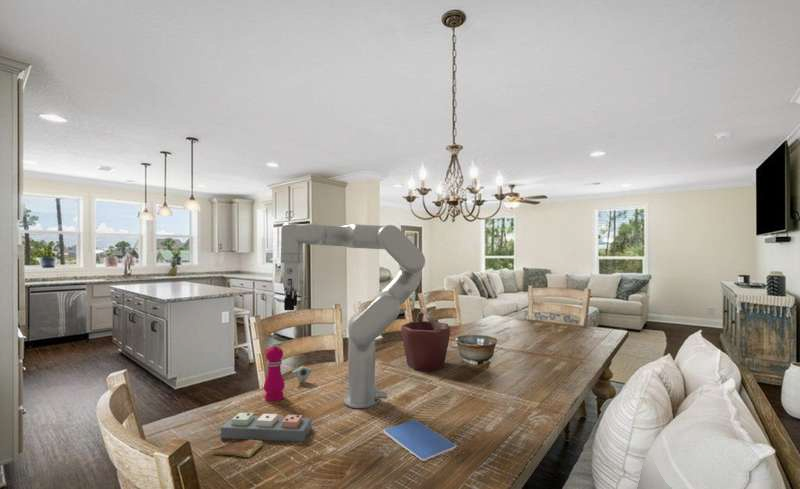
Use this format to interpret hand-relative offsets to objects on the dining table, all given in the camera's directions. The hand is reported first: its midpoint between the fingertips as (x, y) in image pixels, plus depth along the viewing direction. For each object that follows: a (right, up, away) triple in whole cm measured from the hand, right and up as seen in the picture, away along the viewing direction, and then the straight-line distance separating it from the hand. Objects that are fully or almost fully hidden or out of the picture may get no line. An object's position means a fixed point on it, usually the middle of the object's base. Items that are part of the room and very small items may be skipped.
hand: (290, 307), depth 131 cm
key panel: (-1, -33, -20) cm, 39 cm away
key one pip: (-1, -31, -20) cm, 37 cm away
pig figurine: (-1, -34, +21) cm, 40 cm away
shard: (-5, -34, -31) cm, 46 cm away
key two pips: (-8, -31, -20) cm, 38 cm away
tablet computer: (+43, -34, -24) cm, 60 cm away
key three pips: (+7, -31, -21) cm, 38 cm away
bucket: (+50, -35, +44) cm, 75 cm away
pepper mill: (-7, -34, +5) cm, 35 cm away
